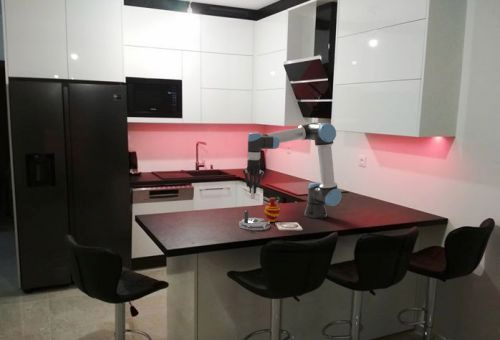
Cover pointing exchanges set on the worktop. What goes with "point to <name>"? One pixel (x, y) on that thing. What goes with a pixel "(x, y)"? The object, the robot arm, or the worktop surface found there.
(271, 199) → the potion bottle
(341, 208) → the worktop surface
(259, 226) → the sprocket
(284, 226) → the seat
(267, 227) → the sprocket base
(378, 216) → the worktop surface
